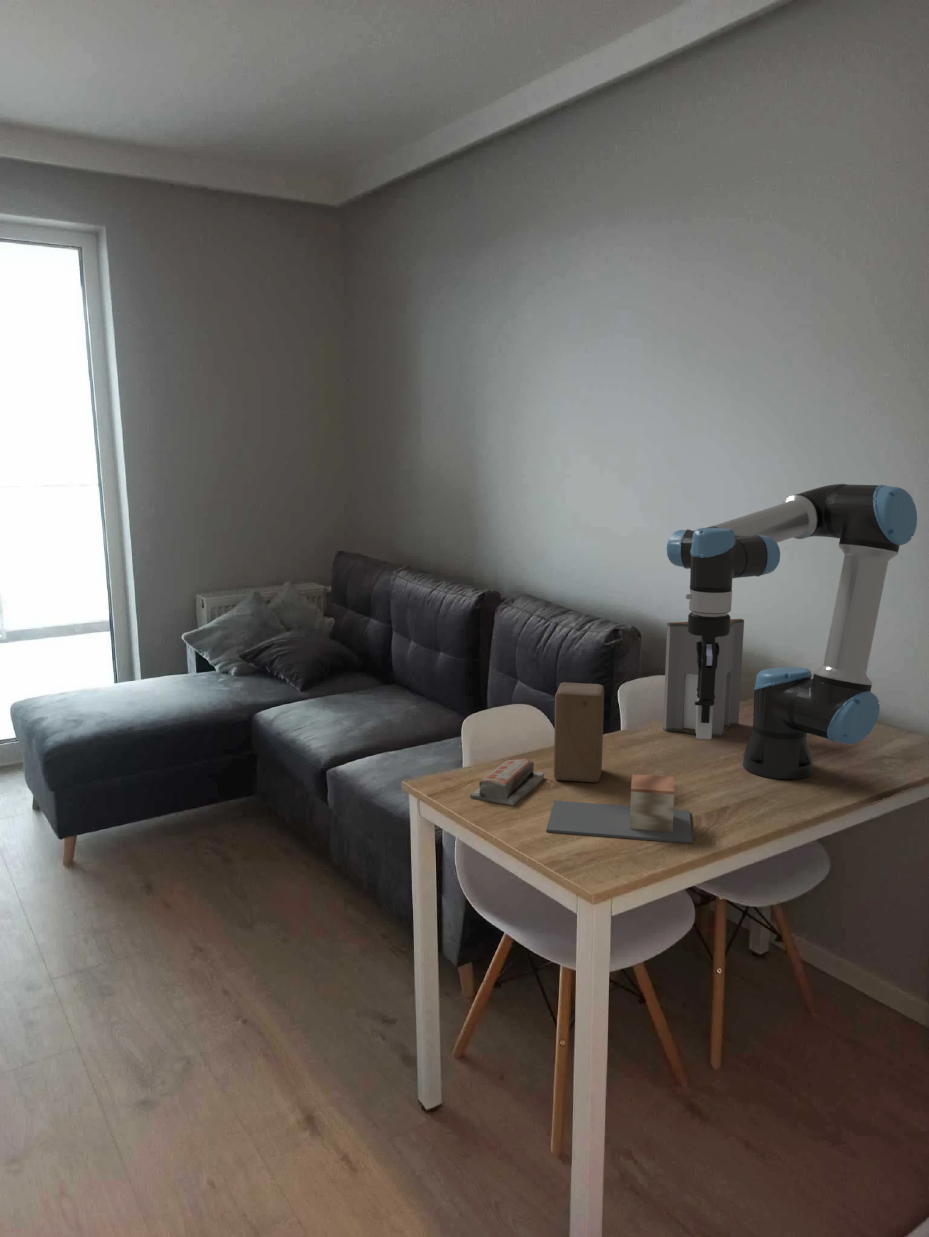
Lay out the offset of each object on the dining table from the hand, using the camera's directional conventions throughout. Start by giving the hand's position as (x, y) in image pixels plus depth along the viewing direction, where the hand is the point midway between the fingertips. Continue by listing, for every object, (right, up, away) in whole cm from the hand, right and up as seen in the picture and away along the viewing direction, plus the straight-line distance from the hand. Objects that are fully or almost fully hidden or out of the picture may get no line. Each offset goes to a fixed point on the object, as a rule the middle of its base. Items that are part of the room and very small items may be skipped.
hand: (703, 735), depth 177 cm
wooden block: (-20, -13, +32) cm, 40 cm away
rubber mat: (-15, -18, +6) cm, 24 cm away
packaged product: (-35, -15, +25) cm, 46 cm away
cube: (-9, -17, +5) cm, 20 cm away
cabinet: (+18, -7, +63) cm, 66 cm away
